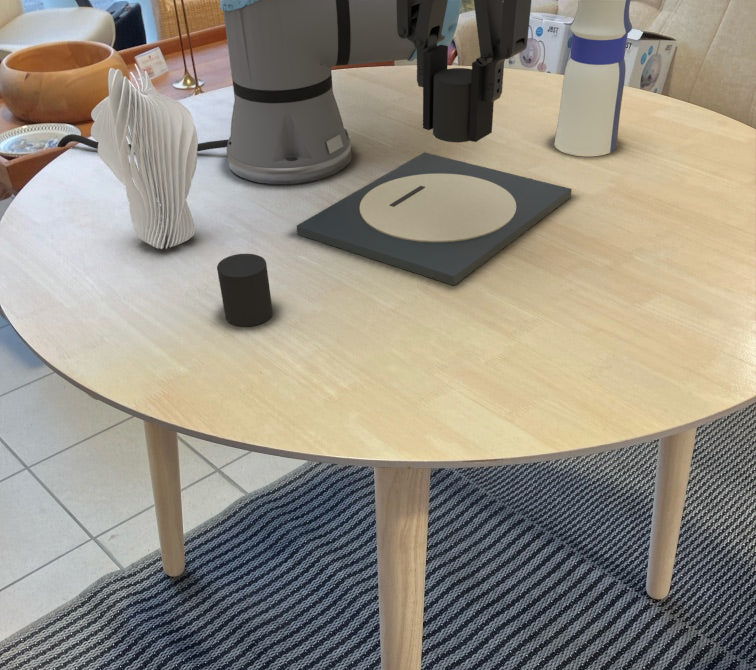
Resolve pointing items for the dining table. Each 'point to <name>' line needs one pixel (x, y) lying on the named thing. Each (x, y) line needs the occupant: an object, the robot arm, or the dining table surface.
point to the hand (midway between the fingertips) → (457, 130)
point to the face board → (435, 216)
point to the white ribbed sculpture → (149, 156)
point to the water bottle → (594, 79)
